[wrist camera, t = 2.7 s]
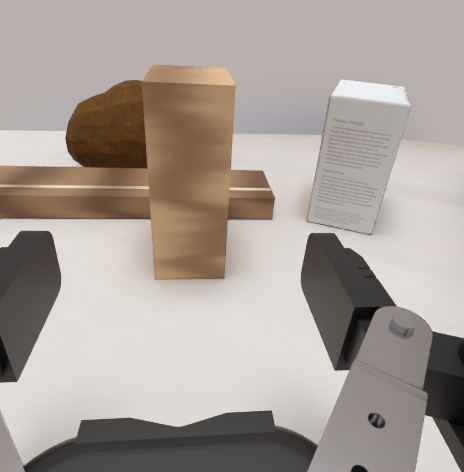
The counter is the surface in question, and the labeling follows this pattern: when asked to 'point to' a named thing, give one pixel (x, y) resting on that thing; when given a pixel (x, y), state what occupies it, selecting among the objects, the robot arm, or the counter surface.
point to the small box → (357, 154)
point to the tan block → (188, 167)
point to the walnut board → (111, 193)
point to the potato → (110, 129)
